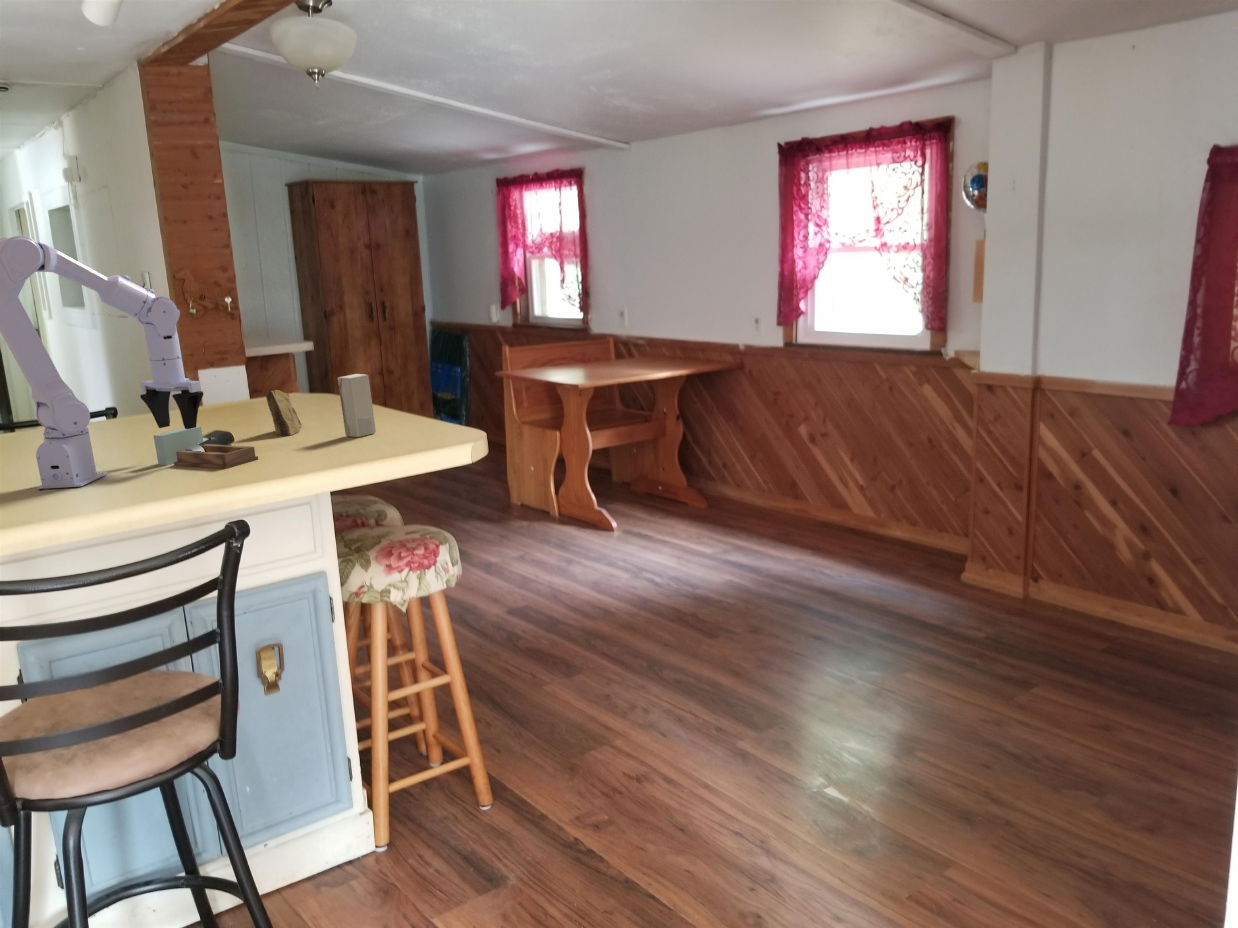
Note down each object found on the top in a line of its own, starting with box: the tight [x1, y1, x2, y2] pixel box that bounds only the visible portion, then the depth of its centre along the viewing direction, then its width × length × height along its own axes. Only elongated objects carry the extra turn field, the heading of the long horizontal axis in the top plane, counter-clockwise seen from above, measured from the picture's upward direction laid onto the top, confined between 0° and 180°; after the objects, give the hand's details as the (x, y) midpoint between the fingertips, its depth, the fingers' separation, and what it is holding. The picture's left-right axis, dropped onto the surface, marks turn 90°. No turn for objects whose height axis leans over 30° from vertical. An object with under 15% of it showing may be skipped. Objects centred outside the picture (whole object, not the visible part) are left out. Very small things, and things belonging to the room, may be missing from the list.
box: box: [337, 373, 377, 438], centre depth 204 cm, size 5×4×13 cm
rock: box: [265, 389, 303, 437], centre depth 215 cm, size 11×9×10 cm
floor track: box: [173, 443, 259, 470], centre depth 186 cm, size 14×8×3 cm, turn 63°
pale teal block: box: [153, 426, 204, 467], centre depth 190 cm, size 9×3×6 cm, turn 153°
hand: (177, 427), depth 189 cm, fingers open, 7 cm apart
